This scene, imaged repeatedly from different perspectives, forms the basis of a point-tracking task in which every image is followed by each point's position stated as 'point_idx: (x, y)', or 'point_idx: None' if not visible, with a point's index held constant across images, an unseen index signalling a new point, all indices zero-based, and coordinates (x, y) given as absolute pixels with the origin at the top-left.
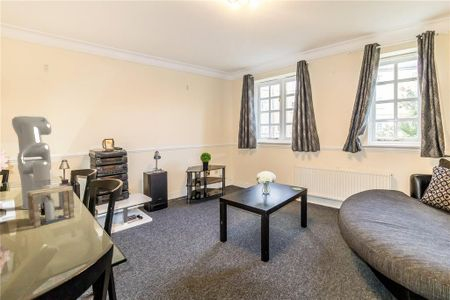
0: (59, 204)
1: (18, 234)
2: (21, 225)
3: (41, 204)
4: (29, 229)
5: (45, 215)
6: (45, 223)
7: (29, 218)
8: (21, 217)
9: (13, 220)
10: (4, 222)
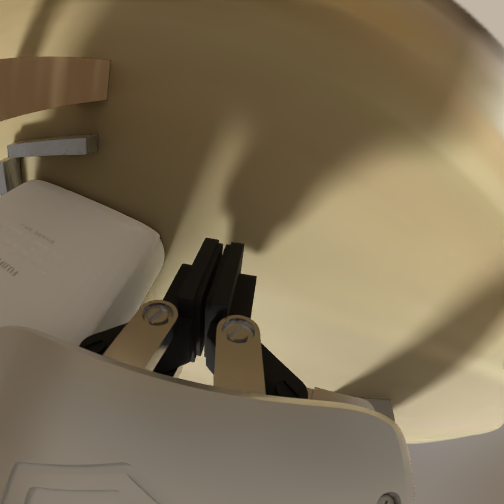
0: (389, 416)
1: (6, 5)
2: (166, 2)
3: (215, 380)
4: (15, 53)
5: (23, 208)
6: (11, 157)
7: (51, 60)
8: (489, 168)
9: (472, 76)
10: (479, 22)
